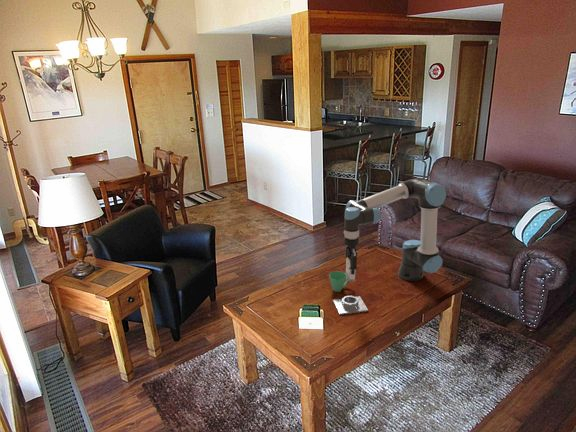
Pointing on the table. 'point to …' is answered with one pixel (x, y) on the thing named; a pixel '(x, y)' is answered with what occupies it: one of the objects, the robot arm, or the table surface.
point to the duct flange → (350, 305)
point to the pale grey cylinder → (348, 269)
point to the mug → (338, 280)
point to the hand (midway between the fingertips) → (350, 276)
